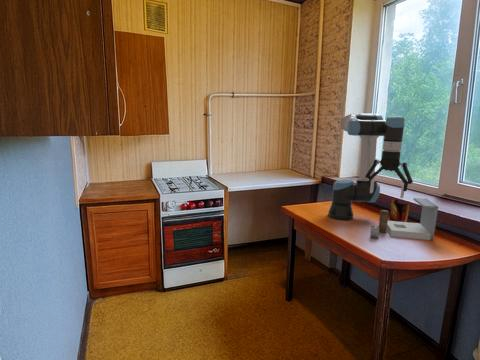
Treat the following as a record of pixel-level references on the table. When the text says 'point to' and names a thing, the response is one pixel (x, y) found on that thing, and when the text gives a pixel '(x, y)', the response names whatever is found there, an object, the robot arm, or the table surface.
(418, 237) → the socket block
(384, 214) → the walnut dowel
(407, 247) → the table surface
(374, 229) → the cylinder
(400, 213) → the mug
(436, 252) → the table surface
